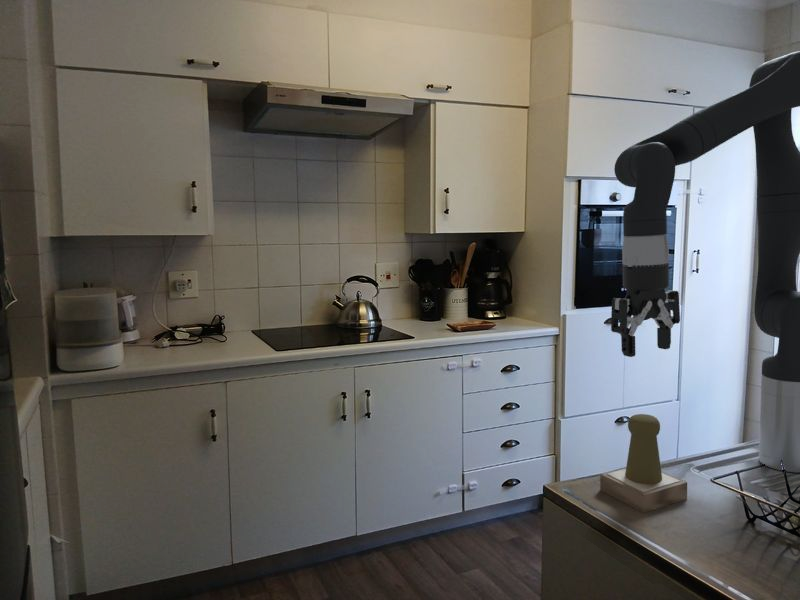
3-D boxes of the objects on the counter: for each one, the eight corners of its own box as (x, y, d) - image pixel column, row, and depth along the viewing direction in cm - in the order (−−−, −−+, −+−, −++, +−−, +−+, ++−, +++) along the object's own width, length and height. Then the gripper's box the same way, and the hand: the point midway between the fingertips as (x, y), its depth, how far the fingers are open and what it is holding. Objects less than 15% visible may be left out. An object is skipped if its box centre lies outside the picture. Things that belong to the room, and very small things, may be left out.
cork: (656, 487, 103) (657, 423, 102) (620, 479, 107) (620, 418, 105) (666, 474, 108) (667, 414, 106) (631, 467, 111) (631, 408, 110)
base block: (641, 477, 114) (641, 461, 114) (686, 498, 105) (687, 481, 105) (600, 489, 110) (600, 473, 110) (643, 512, 101) (643, 494, 101)
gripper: (656, 257, 114) (658, 343, 116) (598, 264, 107) (601, 355, 110) (692, 258, 107) (692, 349, 109) (632, 266, 101) (633, 362, 103)
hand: (646, 352), depth 109 cm, fingers open, 8 cm apart
